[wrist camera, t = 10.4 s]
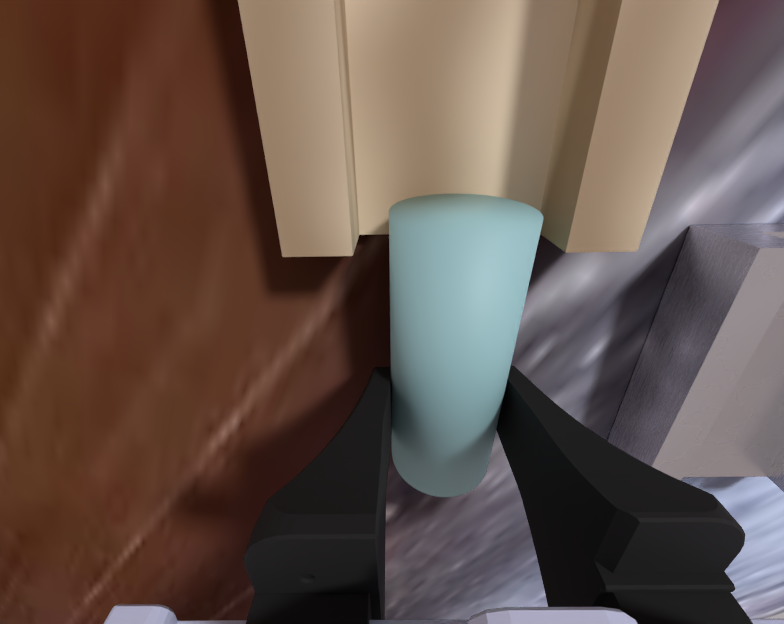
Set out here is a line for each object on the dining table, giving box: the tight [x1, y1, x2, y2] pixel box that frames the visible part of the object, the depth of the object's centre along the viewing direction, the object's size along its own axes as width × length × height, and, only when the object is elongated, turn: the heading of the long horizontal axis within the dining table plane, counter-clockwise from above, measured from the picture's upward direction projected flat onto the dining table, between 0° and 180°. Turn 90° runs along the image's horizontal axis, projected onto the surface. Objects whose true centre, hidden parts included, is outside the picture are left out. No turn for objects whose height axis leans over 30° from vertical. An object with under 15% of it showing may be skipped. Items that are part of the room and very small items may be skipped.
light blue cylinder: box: [389, 193, 544, 497], centre depth 12 cm, size 10×4×4 cm, turn 1°
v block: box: [607, 224, 784, 492], centre depth 14 cm, size 9×12×3 cm
